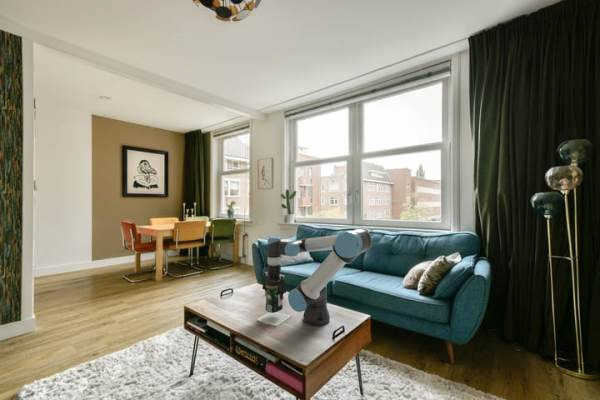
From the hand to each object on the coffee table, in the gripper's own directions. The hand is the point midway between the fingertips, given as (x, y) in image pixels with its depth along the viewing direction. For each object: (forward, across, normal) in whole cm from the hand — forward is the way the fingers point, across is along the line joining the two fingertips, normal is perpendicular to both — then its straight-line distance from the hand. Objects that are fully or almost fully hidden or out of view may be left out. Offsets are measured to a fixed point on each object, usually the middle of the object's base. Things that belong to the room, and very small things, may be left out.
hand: (274, 303), depth 156 cm
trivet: (+9, 0, 0) cm, 9 cm away
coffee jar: (+4, 0, 0) cm, 4 cm away
